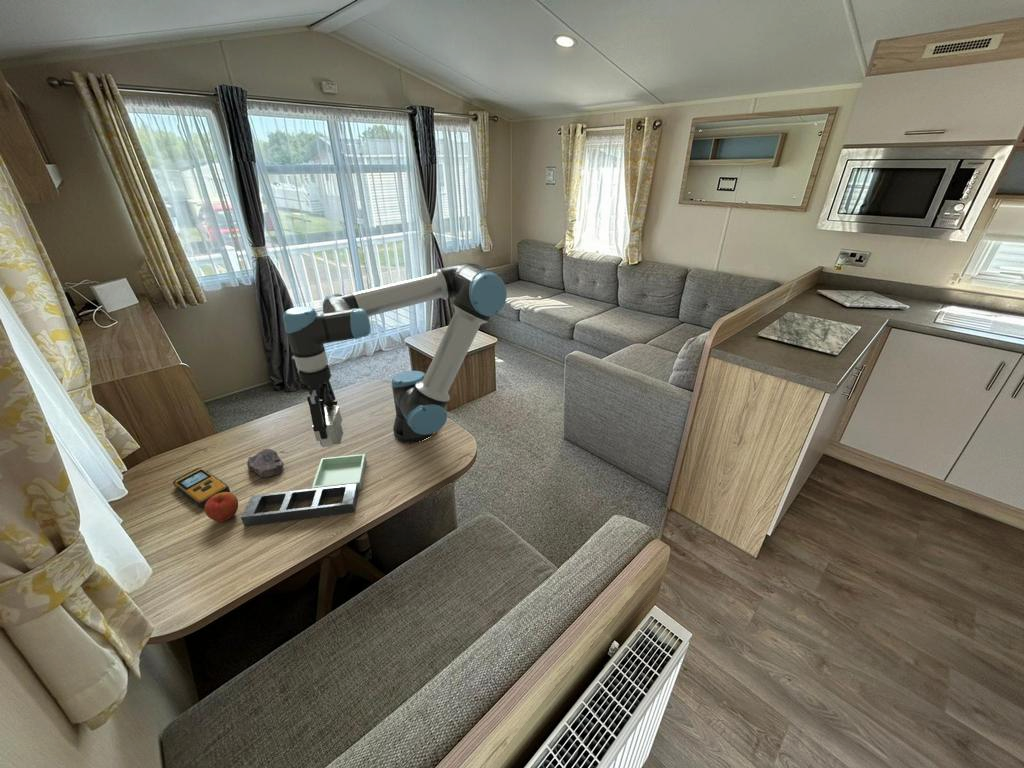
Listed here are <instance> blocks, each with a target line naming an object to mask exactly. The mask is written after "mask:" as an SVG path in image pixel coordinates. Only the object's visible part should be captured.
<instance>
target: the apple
mask: <svg viewBox="0 0 1024 768" xmlns="http://www.w3.org/2000/svg"><path fill="white" fill-rule="evenodd" d="M238 500H239V499H238V497H237V496H236V495H235V494H234V493H232V492H231V491H230V492H222V493H218V494H216V495H214V496H212V497H211V498H210V499H209V500H208V501H207V502H206V504H205V507H204V508H203V510H204V513H205V515H206V516H207V517H208V518H209V519H211V520H212V521H215V522H224V521H227V520H229V519H231V518H233V517H234V516H235V515H236V513H237V512H238V508H239V501H238Z"/></svg>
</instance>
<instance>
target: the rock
mask: <svg viewBox="0 0 1024 768" xmlns="http://www.w3.org/2000/svg"><path fill="white" fill-rule="evenodd" d="M247 459H248V460H247V464H246V465H247V469H248V471H252V472H255V473H256V474H257V475H258V476H260V477H261V478H268V477H271V476H272V477H273V476H276V475H280V474H281V473H282V471H283V470H284V465H285V463H284V462H283V460H282V459H281V458H280V456H279V455H278V452H277V451H275V450H274V449H271V448H265V449H262V450H260V451H259V452H257V453H256V454H254V455H252V456H249V457H248V458H247Z"/></svg>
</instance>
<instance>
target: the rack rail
mask: <svg viewBox="0 0 1024 768" xmlns="http://www.w3.org/2000/svg"><path fill="white" fill-rule="evenodd" d="M359 492H360V491H359V490H358V487H357V483H356V484H347V485H339V486H330V487H321V488H312V487H311V488H305V489H299V490H297V489H296V490H287V491H278V492H270V493H263V494H262V493H261V494H253V495H251V496H250V498H249V500H248V502H247V504H246V506H245V508H244V510H243V512H242V514H241V516H240V519H241V522H242V524H243V527H244V528H245V527H254V526H262V525H269V524H277V523H286V522H293V521H300V520H308V519H316V518H317V519H318V518H325V517H333V516H340V515H349V514H355V513H356V509H357V508H356V507H357V502H358V497H359ZM337 497H343V498H342V502H338V503H330V504H325V500H326V499H329V498H337ZM312 500H313V501H312ZM303 501H312V502H311V506H306V507H299V508H296V507H295V504H296V502H303ZM279 504H281V505H280V508H279V510H272V511H265V512H263V511H264V509H265V506H270V505H271V506H272V505H279ZM294 507H295V508H294Z"/></svg>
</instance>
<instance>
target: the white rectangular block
mask: <svg viewBox="0 0 1024 768" xmlns="http://www.w3.org/2000/svg"><path fill="white" fill-rule="evenodd" d="M334 406H335V407H327V406H325V414H326V424H327V426H328V427H329V431H330V434H331V438H332V442H333V446H335V445H340V444H341V443H342V438H343V435H344V431H343V427H342V422H343V418H342V414H341V411H340V407H339V406H338V405H334ZM312 428H313V425H312ZM313 432H314V431H313ZM314 436H315V440H316V442H319V443H320V447H322V444H321V441H320V437H319V434H318V431H316V432H314Z"/></svg>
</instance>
